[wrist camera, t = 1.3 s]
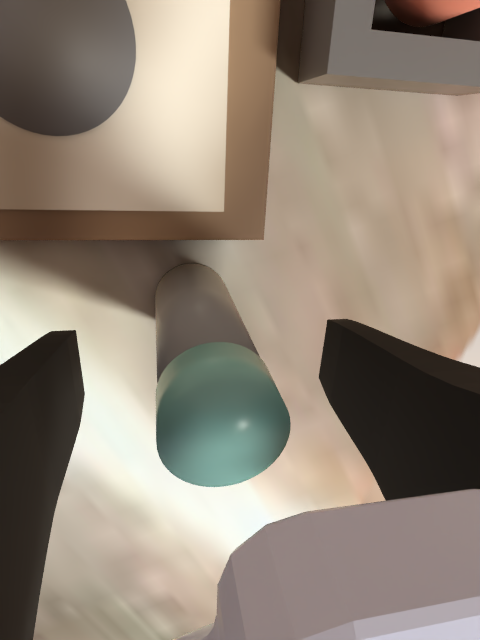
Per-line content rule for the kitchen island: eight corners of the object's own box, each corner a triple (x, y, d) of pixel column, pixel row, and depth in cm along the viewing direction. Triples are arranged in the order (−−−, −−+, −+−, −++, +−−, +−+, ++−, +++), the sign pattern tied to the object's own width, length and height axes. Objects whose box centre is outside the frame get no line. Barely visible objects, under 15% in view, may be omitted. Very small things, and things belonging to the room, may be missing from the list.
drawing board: (-146, 234, 13) (-171, 243, 12) (-342, -318, 8) (-410, -379, 7) (258, 234, 15) (265, 241, 14) (285, -184, 11) (299, -216, 10)
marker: (155, 333, 16) (159, 494, 9) (152, 262, 15) (153, 384, 8) (227, 329, 17) (284, 478, 10) (229, 261, 15) (296, 374, 8)
